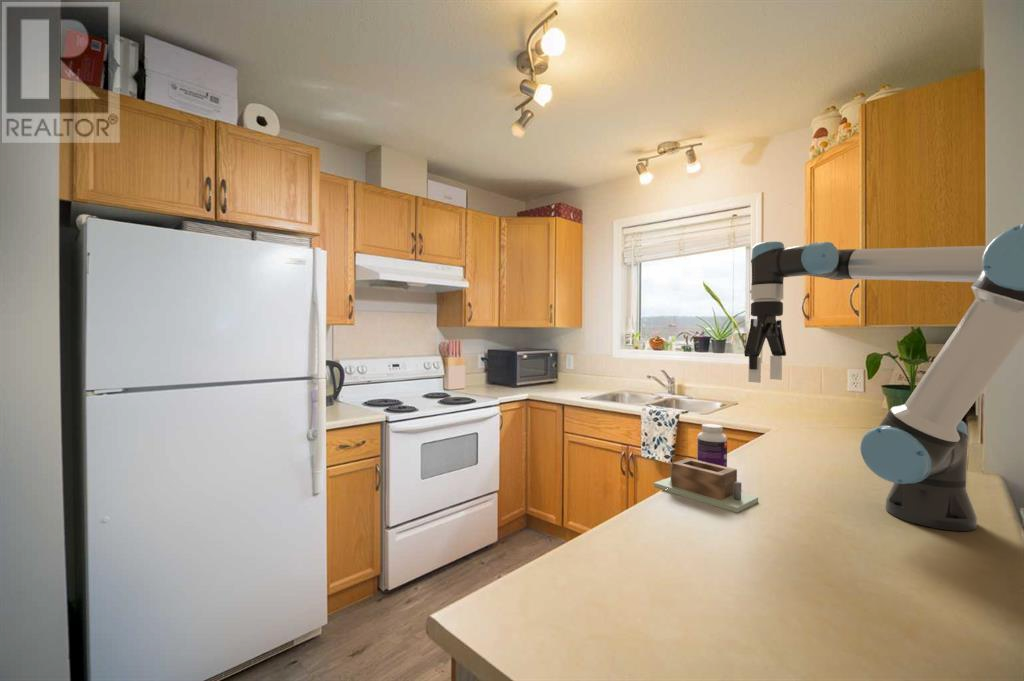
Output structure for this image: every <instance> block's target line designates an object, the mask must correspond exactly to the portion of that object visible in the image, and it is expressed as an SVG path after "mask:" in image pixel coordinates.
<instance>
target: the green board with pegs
mask: <svg viewBox="0 0 1024 681" xmlns="http://www.w3.org/2000/svg"><path fill="white" fill-rule="evenodd" d="M653 488H655V489H659V490H662V491H665V492H668V493H672V494H675V495H678V496H681V497H685V498H688V499H691V500H694V501H698V502H701V503H704V504H707V505H711V506H714V507H717V508H721V509H724V510H726V511H729V512H734V513H737V514H738V513H740V512H742V511H743V510H744V511H745V509H747V508H749V507H751V506H754V505H755V504H757V503H759V497H758V496H755V495H753V494H747V493H745V492H744V493H743V492H742V482H741V481H737V482H734V495H732V496H730V497H727V498H725V499H723V500H718V499H714V498H711V497H708V496H704V495H701V494H697V493H694V492H691V491H687V490H684V489H680V488H677V487H673V486H672V465H670V476H669V477H667V478H663V479H660V480H657V481H654V482H653ZM667 488H668V489H667ZM665 489H667V490H665Z"/></svg>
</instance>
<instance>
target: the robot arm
mask: <svg viewBox="0 0 1024 681" xmlns="http://www.w3.org/2000/svg"><path fill="white" fill-rule="evenodd" d="M750 263H751V265H750V266H751V286H750V287H751V289H749V294H750V298H751V301H752V302H751V303H750V315H751V317H756V318H751V319H750V325H749V332H748V335H747V339H746V343H745V348H744V357H748V383H749V382H750V383H758V384H760V383H761V381H762V375H761V374H762V357H761V356H760V355H761V352H762V349H763V346H764V344H765V341H767V344H768V346H769V349H770V352H771V355H770V356H769V357H770V358H769V362H770V363H769V366H770V368H769V379H770V380H778V381H779V380H780V381H782V380H783V379H782V378H783V357H785V356H787V352H786V345H785V341H784V334H783V328H782V327H783V326H782V320H781V319H777V317H781V316H783V315H784V314H783V313H784V302H782V300H784V280H785V279H784V278H792V277H804V276H807V277H815V278H825V279H829V280H836V281H840V280H871V281H872V280H875V281H877V280H878V281H879V280H880V281H908V282H909V281H913V282H914V281H915V282H948V283H950V282H952V283H953V282H955V283H973V284H972V285H971V286H970V288H971V290H972V292H973V294H974V300H973V302H972V303H971V305H970V306H969V307H968V309H967V311H966V312H965V314H964V315H963V317H962V318H961V319H960V321H959V322H958V324H957V325H956V327H955V329H954V330H953V332H952V333H951V334H950V336H949V338H948V339H947V341H946V342H945V344H944V345H943V346H942V348H941V350H940V351H939V352H938V354H937V356H936V357H935V358H934V360H933V361H932V363H931V364H930V366H929V367H928V369H927V370H926V372H925V373H924V375H922V378H921V379H920V381H919V383H918V384H917V385H916V387H915V388H914V389H913V391H912V393H911V394H910V396H909V397H908V399H907V400H906V401H905V403H904V404H900V405H895V406H892V407H891V408H890V409H889V411H888V412H887V414H885V417H884V418H883V420H882V421H881V422H880V424H879V425H878V426H877V427H876V426H875V427H873V428H872V429H870V430H869V431H868V432H866V433H865V434H864V435H863V437H862V439H861V441H860V445H859V447H860V449H859V450H860V455H861V457H862V459H863V462H864V464H865V465H866V466H867V468H868V469H869V470H870V471H871V472H872V473H874V474H875V475H877V476H878V477H879V478H880V479H883V480H885V481H888V482H890V483H893V484H892V486H891V488H890V490H889V492H888V495H887V496H886V499H885V510H886V512H887V513H889V514H890V515H891V516H894V517H896V518H898V519H900V520H904V521H907V522H909V523H913V524H917V525H918V526H919V525H920V526H922V527H927V528H933V529H938V530H943V531H952V532H970V531H975V530H976V529H977V526H978V525H977V524H978V522H977V521H978V519H977V515H976V512H975V509H974V507H973V504H972V502H971V499H970V496H969V494H968V491H967V462H968V439H969V434H968V426H967V423H965V421H963V418H964V417H965V415H966V414H967V413H968V412H969V411H970V409H971V407H973V405H974V404H975V402H976V401H977V400H978V398H979V397H980V395H981V394H982V392H984V390H985V388H986V387H988V384H990V382H991V380H993V378H994V377H995V376H996V374H997V373H998V371H999V370H1000V368H1002V366H1003V364H1004V363H1005V362H1006V360H1007V359H1008V357H1009V356H1010V355H1011V354H1012V353H1013V351H1014V350H1015V348H1016V347H1017V346H1018V345H1019V343H1020V341H1022V339H1023V338H1024V223H1022V224H1019V225H1017V226H1013V227H1011V228H1009V229H1007V230H1005V231H1004V232H1002V233H1000V234H998V235H997V236H996V237H995V238H994V239H992V241H991V242H989V243H988V245H974V246H973V245H967V246H963V245H962V246H935V247H934V246H932V247H931V246H927V247H893V248H892V247H891V248H890V247H889V248H887V247H886V248H855V249H854V248H853V249H852V248H850V249H849V248H847V249H839V248H837V247H836V246H835V244H834V243H833V242H830V241H822V242H817V241H816V242H812V243H808V244H803V245H796V246H791V247H785V245H784V243H783V242H781V241H764V242H759V243H756V244H754V246H753V247H752V252H751V260H750Z"/></svg>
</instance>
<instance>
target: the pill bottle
mask: <svg viewBox="0 0 1024 681" xmlns="http://www.w3.org/2000/svg"><path fill="white" fill-rule="evenodd" d="M723 429H724V428H723V426H722V425H719V424H714V423H703V424H701V432H699V433H698V434H697V437H696V438H697V439H696V460H699V461H703V462H707V463H712V464H716V465H720V466H724V467H728V437H727V436H726V434H724V433H723V431H724V430H723Z"/></svg>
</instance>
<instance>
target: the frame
mask: <svg viewBox="0 0 1024 681" xmlns="http://www.w3.org/2000/svg"><path fill="white" fill-rule="evenodd" d="M671 466H672V486H673V487H677V488H680V489H684V490H687V491H691V492H694V493H697V494H701V495H704V496H708V497H711V498H714V499H718V500H723V499H725V498H727V497H730V496H732V495H734V482H738V479H737V478H738V469H736V468H733V467H732V468H731V467H728V466H727V467H724V466H720V465H716V464H712V463H707V462H703V461H699V460H697V459H694V458H689V457H688V458H685V459H681V460H679V461H678V460H677V461H675V462H672V463H671Z"/></svg>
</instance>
